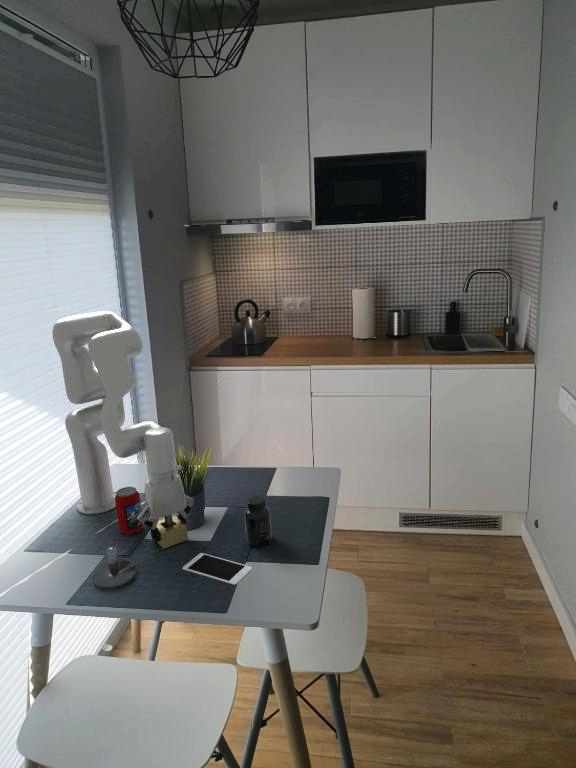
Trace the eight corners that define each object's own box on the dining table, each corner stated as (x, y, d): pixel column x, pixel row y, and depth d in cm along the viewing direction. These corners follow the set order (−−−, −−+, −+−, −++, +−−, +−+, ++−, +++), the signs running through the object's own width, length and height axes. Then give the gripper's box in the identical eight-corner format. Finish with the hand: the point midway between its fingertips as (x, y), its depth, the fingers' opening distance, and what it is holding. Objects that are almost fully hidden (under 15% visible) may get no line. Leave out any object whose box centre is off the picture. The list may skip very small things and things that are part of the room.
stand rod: (166, 540, 160) (162, 506, 157) (172, 537, 161) (168, 504, 158) (169, 543, 158) (165, 509, 156) (176, 540, 159) (172, 507, 157)
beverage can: (137, 536, 163) (132, 496, 160) (115, 535, 164) (109, 496, 161) (148, 524, 169) (142, 486, 166) (126, 523, 171) (120, 485, 167)
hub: (88, 576, 145) (83, 547, 143) (127, 561, 151) (123, 533, 149) (102, 595, 138) (97, 564, 135) (143, 578, 143) (138, 549, 141)
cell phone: (235, 586, 138) (235, 584, 138) (181, 570, 146) (181, 568, 146) (253, 569, 145) (253, 567, 145) (201, 554, 153) (200, 552, 153)
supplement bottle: (241, 542, 157) (237, 500, 154) (259, 531, 162) (256, 491, 158) (259, 550, 152) (255, 508, 149) (277, 539, 157) (274, 498, 154)
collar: (152, 538, 161) (150, 523, 159) (176, 529, 165) (174, 515, 163) (163, 548, 155) (161, 533, 154) (187, 539, 159) (185, 524, 158)
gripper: (186, 461, 162) (192, 519, 167) (125, 479, 153) (133, 540, 158) (199, 469, 157) (204, 529, 161) (136, 489, 147) (144, 552, 152)
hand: (169, 534), depth 160 cm, fingers closed on collar, 7 cm apart
